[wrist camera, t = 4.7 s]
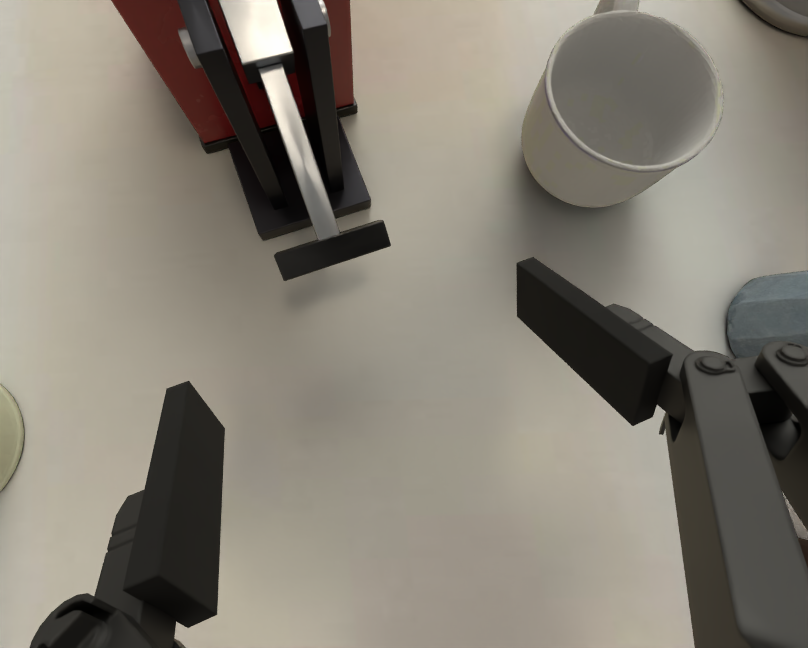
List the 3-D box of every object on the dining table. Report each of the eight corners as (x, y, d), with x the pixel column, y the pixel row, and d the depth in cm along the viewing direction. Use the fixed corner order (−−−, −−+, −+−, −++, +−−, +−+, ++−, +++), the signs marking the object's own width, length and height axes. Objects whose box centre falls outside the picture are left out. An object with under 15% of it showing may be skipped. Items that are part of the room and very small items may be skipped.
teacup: (625, 241, 30) (716, 188, 22) (490, 203, 30) (536, 136, 22) (647, 88, 33) (736, -7, 25) (524, 51, 32) (575, -59, 24)
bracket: (370, 207, 29) (376, 43, 15) (263, 241, 27) (163, 96, 14) (338, 124, 29) (316, -102, 16) (232, 153, 28) (111, -64, 15)
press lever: (384, 244, 21) (393, 246, 19) (285, 276, 20) (283, 283, 18) (308, -4, 18) (309, -38, 15) (185, 23, 17) (167, -8, 15)
